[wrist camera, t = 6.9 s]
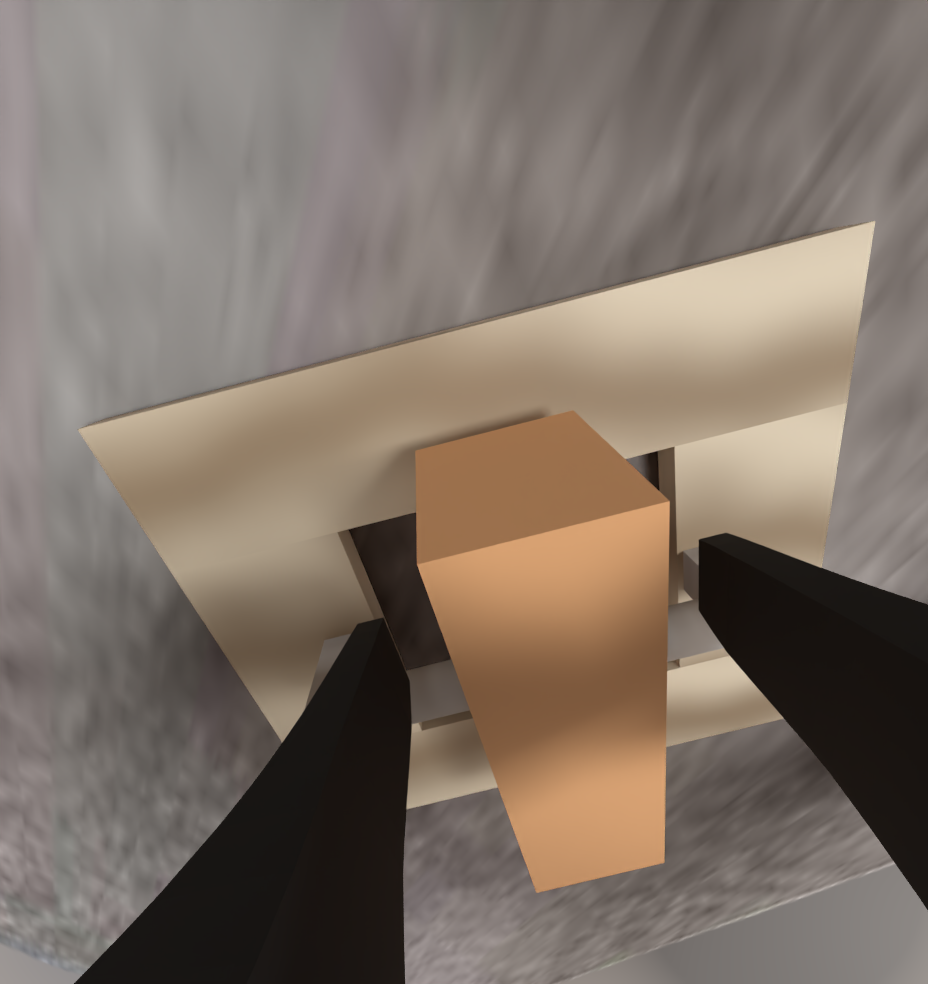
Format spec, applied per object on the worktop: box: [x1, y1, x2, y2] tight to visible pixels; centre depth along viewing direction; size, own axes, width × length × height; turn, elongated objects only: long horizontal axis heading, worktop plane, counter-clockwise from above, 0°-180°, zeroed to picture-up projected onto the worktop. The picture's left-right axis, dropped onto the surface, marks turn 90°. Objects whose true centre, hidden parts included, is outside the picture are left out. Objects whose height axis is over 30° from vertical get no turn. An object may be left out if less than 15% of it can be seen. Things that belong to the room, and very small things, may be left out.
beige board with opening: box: [78, 221, 875, 809], centre depth 13 cm, size 18×20×4 cm
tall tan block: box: [415, 410, 670, 893], centre depth 12 cm, size 13×4×4 cm, turn 13°
